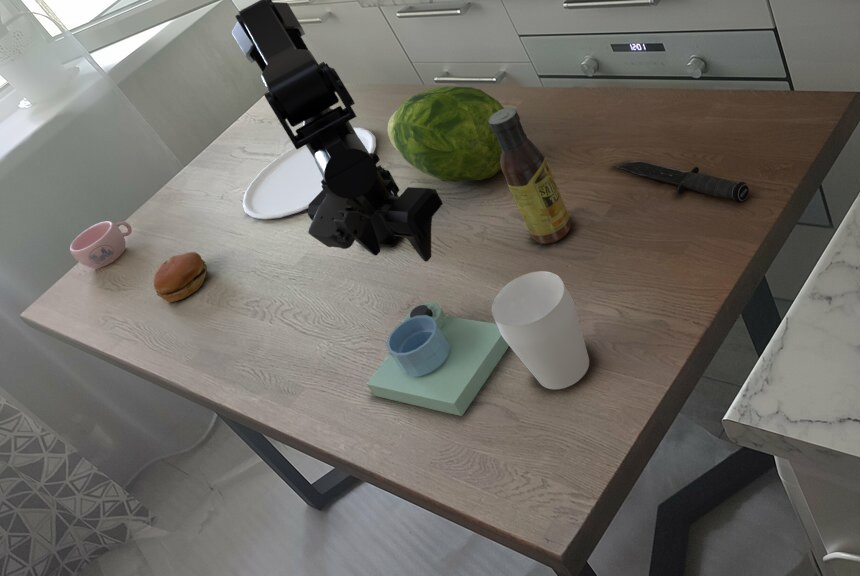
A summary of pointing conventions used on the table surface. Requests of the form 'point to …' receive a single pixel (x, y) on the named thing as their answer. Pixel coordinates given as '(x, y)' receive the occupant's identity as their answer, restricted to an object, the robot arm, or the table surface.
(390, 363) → the scale
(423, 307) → the tare button
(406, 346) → the bowl
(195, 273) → the burger
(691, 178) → the knife
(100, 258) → the mug
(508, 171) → the sauce bottle
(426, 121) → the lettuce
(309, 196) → the plate
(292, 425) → the table surface
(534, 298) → the cup
